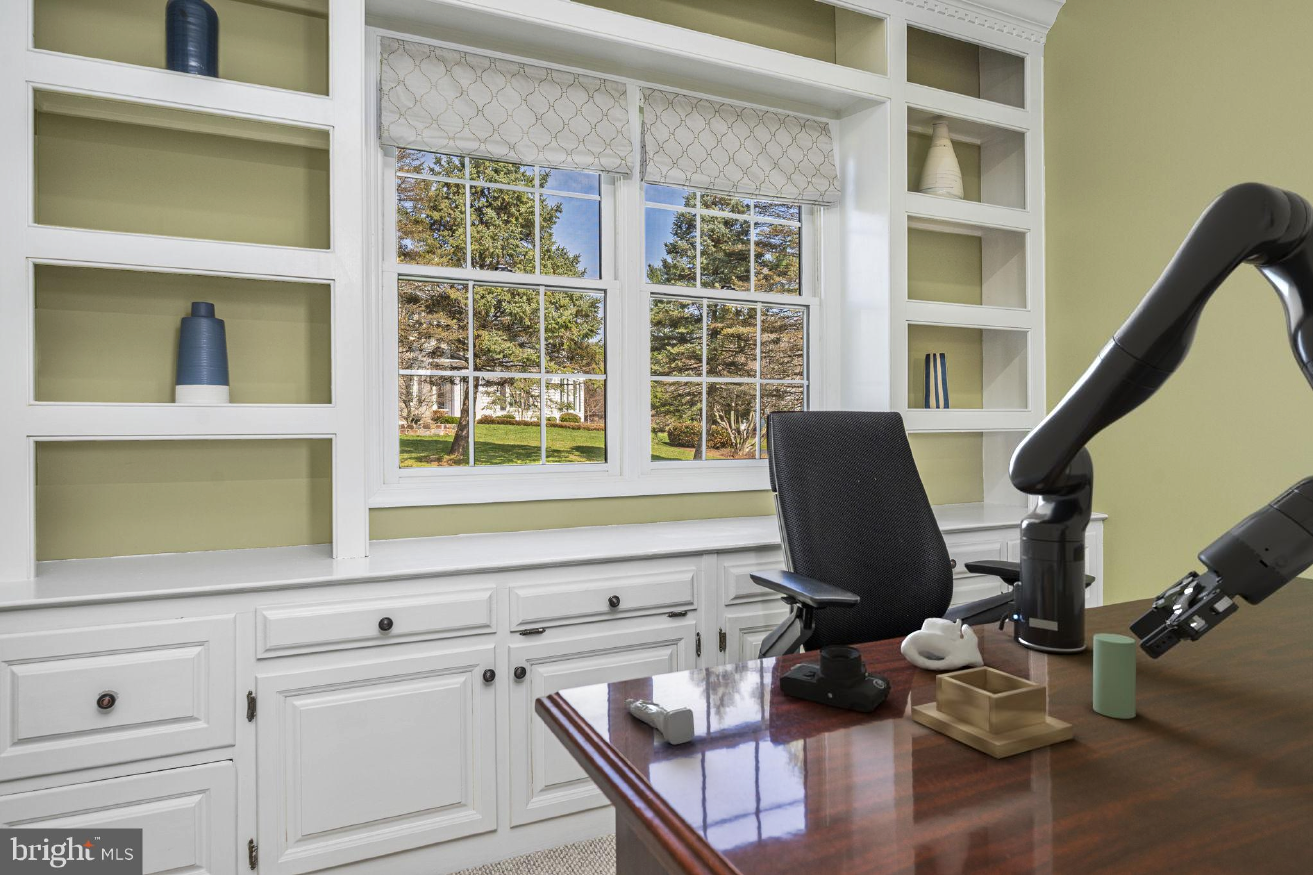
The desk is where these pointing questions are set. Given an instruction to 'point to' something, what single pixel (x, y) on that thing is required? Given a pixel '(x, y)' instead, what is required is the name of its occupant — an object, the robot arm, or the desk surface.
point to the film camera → (837, 680)
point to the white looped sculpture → (942, 646)
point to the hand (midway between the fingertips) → (1139, 642)
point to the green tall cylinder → (1114, 675)
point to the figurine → (665, 720)
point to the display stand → (992, 712)
